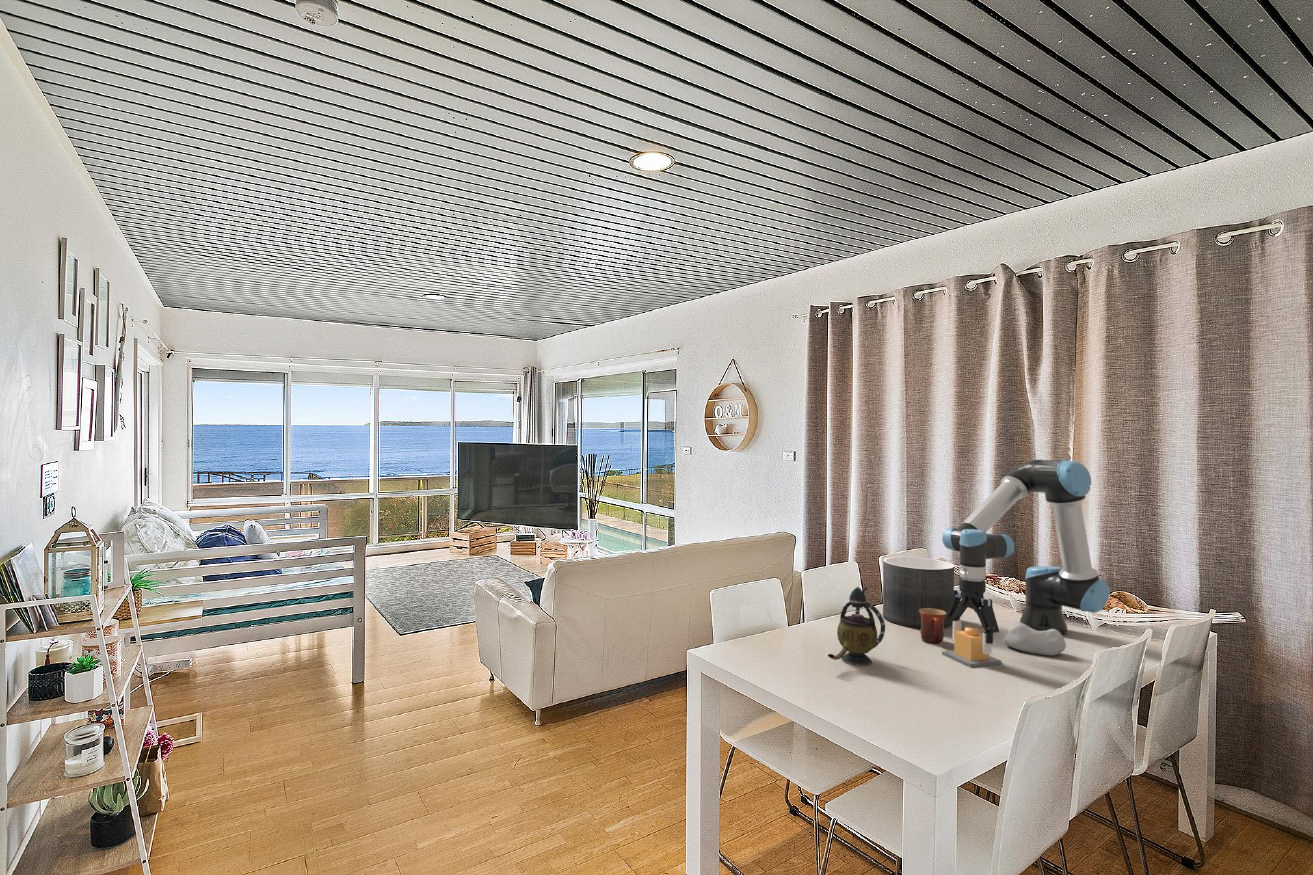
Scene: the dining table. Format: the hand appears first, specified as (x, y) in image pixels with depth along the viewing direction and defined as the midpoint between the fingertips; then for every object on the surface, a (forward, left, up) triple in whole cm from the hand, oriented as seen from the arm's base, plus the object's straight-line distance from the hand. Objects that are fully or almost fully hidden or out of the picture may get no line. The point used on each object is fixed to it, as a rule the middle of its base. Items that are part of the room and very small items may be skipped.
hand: (971, 646), depth 204 cm
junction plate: (0, 0, -4) cm, 4 cm away
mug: (0, -17, -4) cm, 17 cm away
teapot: (+40, -6, -4) cm, 41 cm away
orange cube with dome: (0, 0, -3) cm, 3 cm away
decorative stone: (-27, -2, -4) cm, 28 cm away
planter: (-14, -42, -4) cm, 44 cm away
